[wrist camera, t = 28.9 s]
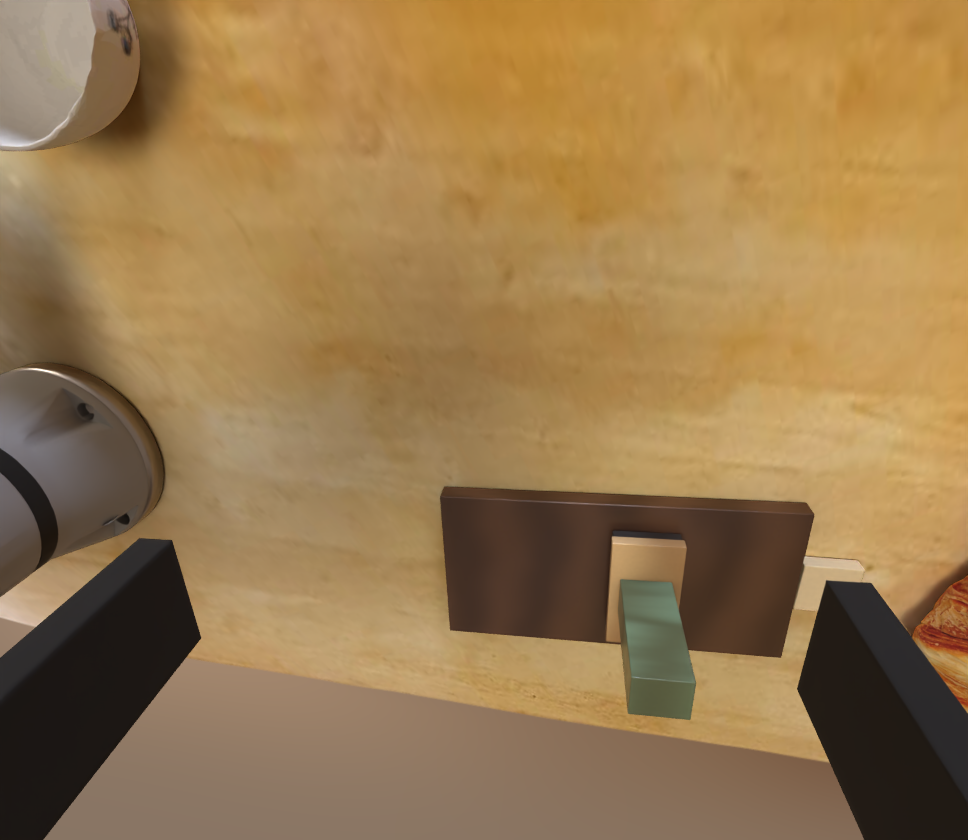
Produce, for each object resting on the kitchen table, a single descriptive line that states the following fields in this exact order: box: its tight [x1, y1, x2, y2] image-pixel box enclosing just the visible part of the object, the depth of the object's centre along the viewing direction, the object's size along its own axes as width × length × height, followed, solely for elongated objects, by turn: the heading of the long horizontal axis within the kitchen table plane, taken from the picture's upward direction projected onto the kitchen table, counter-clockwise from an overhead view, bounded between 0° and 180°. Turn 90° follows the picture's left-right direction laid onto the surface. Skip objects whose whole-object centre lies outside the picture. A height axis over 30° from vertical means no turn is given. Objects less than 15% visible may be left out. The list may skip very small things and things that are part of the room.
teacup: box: [0, 0, 140, 151], centre depth 31 cm, size 15×12×8 cm
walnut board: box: [440, 487, 814, 658], centre depth 43 cm, size 26×13×2 cm, turn 92°
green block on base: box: [605, 531, 696, 720], centre depth 38 cm, size 5×9×10 cm, turn 2°
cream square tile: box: [793, 556, 865, 611], centre depth 41 cm, size 4×4×1 cm
